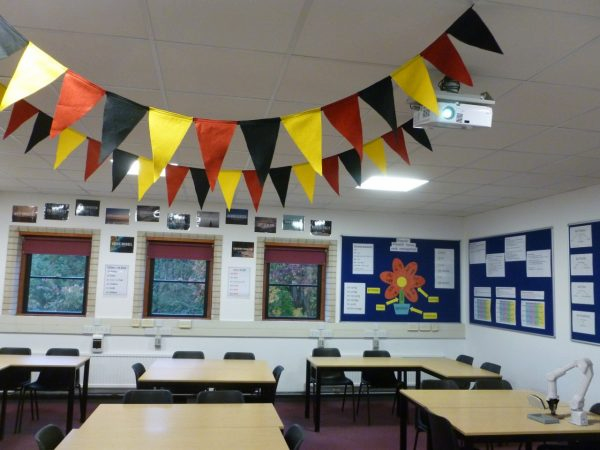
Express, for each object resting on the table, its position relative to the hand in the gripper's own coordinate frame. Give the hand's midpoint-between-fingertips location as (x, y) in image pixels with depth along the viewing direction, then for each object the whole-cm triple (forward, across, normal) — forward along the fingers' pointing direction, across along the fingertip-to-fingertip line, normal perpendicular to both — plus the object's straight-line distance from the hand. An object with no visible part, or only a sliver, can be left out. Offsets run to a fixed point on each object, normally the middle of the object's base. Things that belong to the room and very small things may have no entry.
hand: (553, 410), depth 338 cm
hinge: (+6, -23, -24) cm, 33 cm away
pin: (+3, 0, 0) cm, 3 cm away
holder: (+5, 0, 0) cm, 5 cm away
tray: (+5, +13, -1) cm, 14 cm away
